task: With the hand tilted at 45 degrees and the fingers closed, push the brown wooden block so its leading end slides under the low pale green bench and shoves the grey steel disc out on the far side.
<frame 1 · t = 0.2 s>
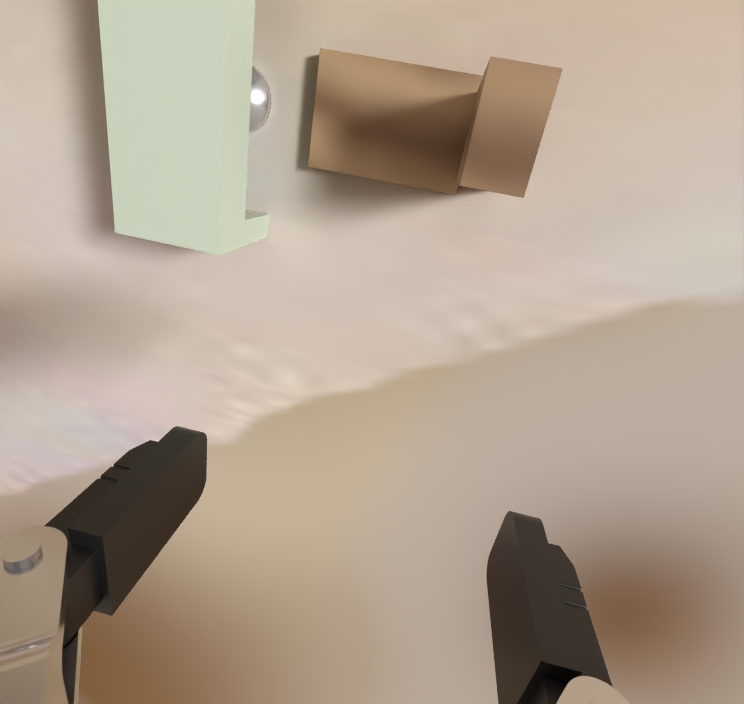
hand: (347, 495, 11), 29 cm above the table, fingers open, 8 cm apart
brown wooden block: (487, 143, 33), on the table
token: (243, 99, 35), on the table
pale green bench: (229, 96, 35), on the table
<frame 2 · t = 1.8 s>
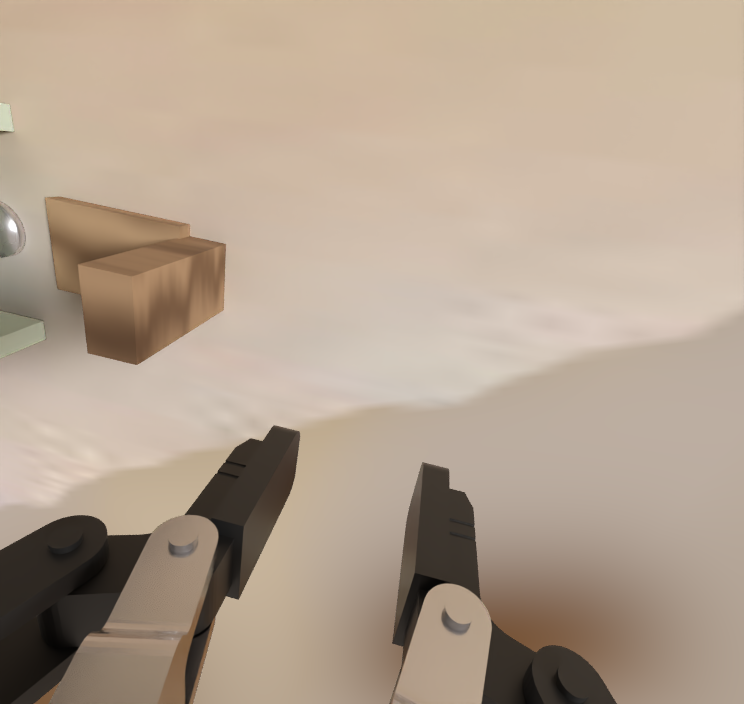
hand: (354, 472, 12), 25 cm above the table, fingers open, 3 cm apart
brown wooden block: (205, 273, 38), on the table
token: (3, 227, 40), on the table
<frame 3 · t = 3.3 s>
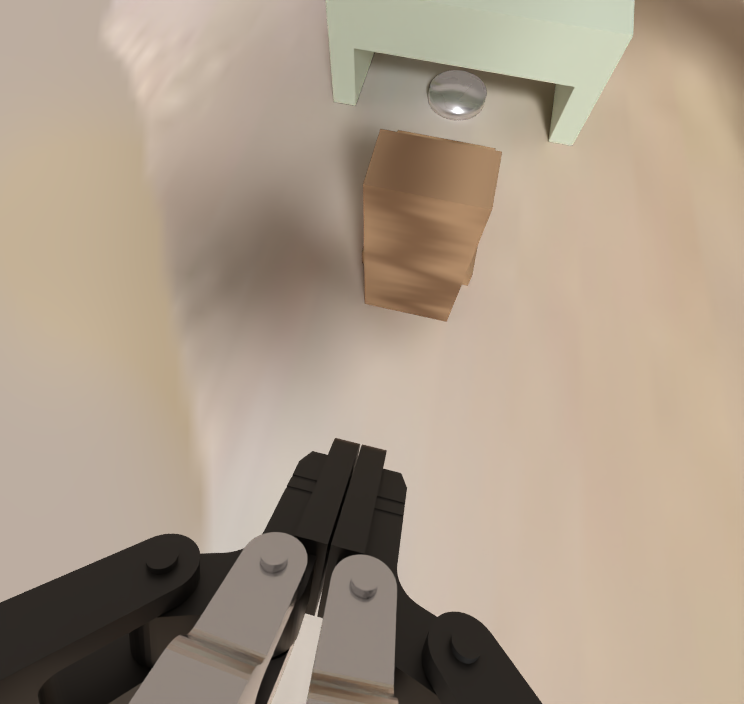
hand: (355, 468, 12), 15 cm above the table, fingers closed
brown wooden block: (410, 291, 31), on the table
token: (455, 102, 39), on the table
pale green bench: (458, 91, 39), on the table
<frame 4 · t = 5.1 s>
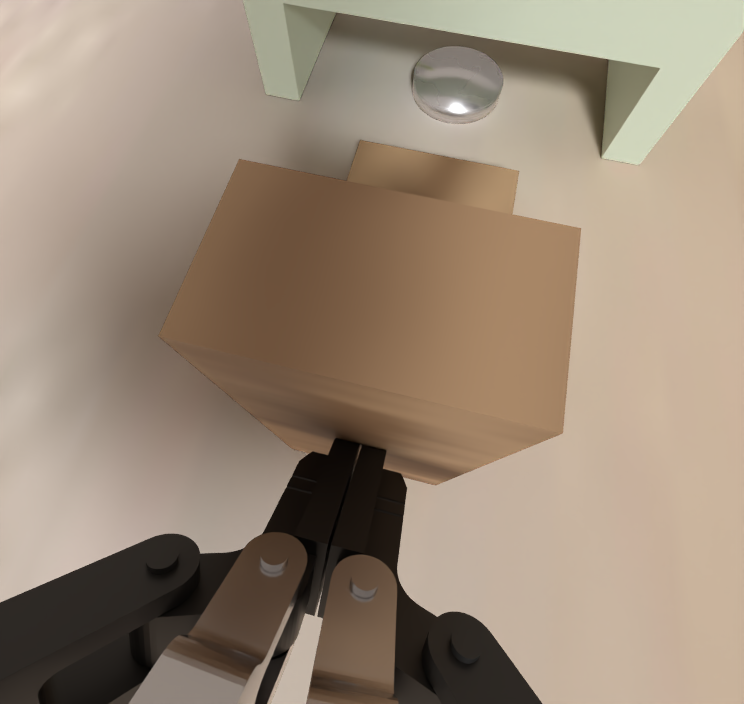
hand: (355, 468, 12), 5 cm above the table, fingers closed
brown wooden block: (373, 425, 18), on the table, touching gripper
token: (454, 96, 25), on the table
pale green bench: (458, 78, 25), on the table
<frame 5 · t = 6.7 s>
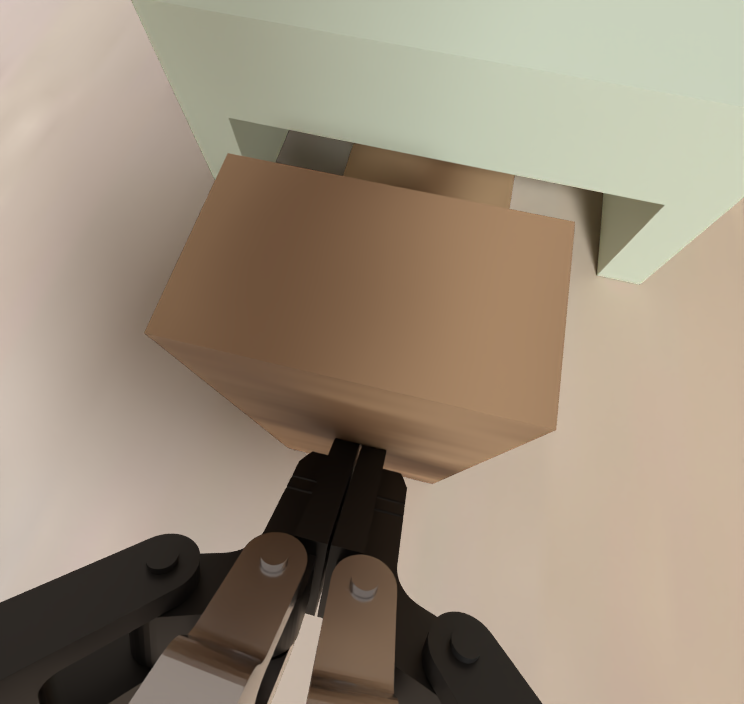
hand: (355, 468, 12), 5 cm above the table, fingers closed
brown wooden block: (369, 423, 18), on the table, touching gripper
pale green bench: (438, 175, 22), on the table
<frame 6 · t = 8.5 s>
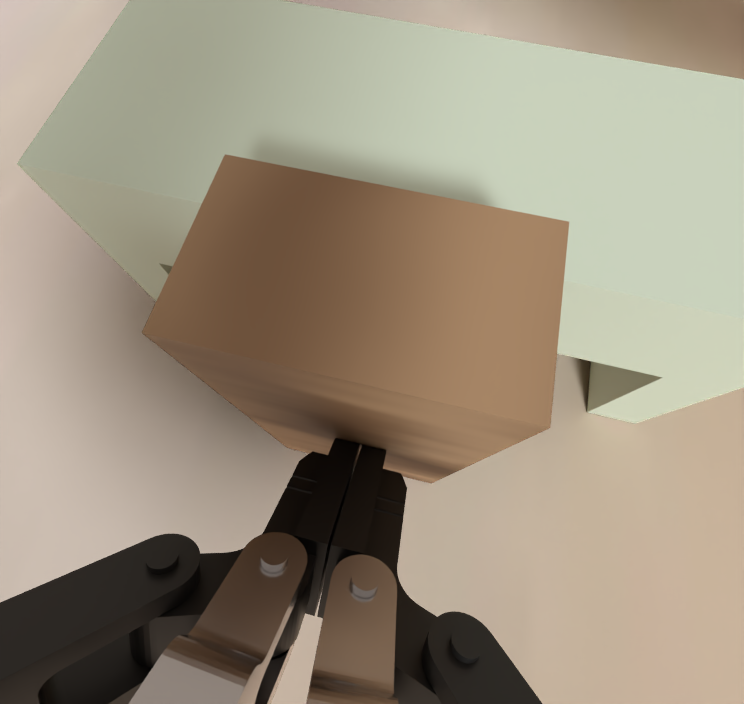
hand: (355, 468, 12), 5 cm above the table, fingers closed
brown wooden block: (368, 423, 18), on the table, touching gripper
pale green bench: (410, 287, 20), on the table
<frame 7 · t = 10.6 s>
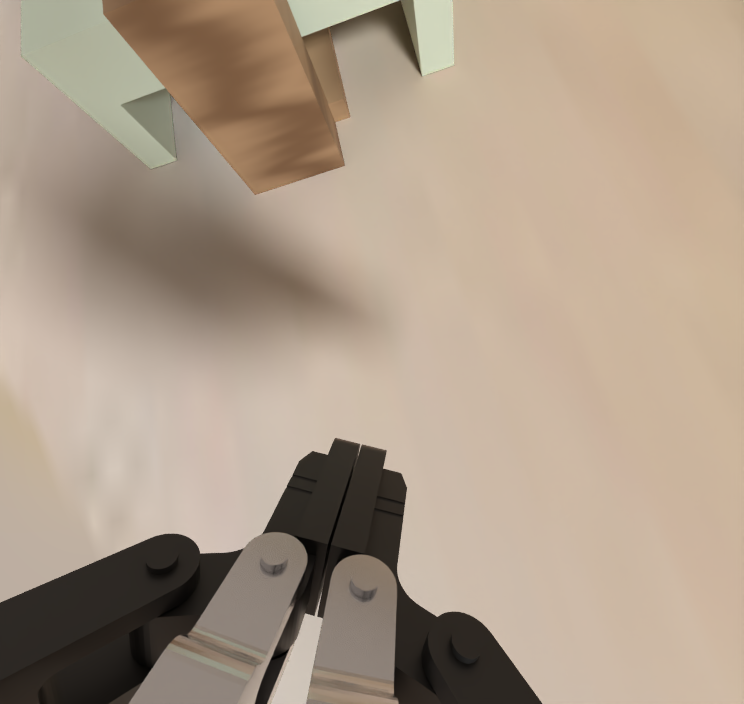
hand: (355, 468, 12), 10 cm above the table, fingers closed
brown wooden block: (294, 156, 27), on the table
pale green bench: (284, 71, 29), on the table
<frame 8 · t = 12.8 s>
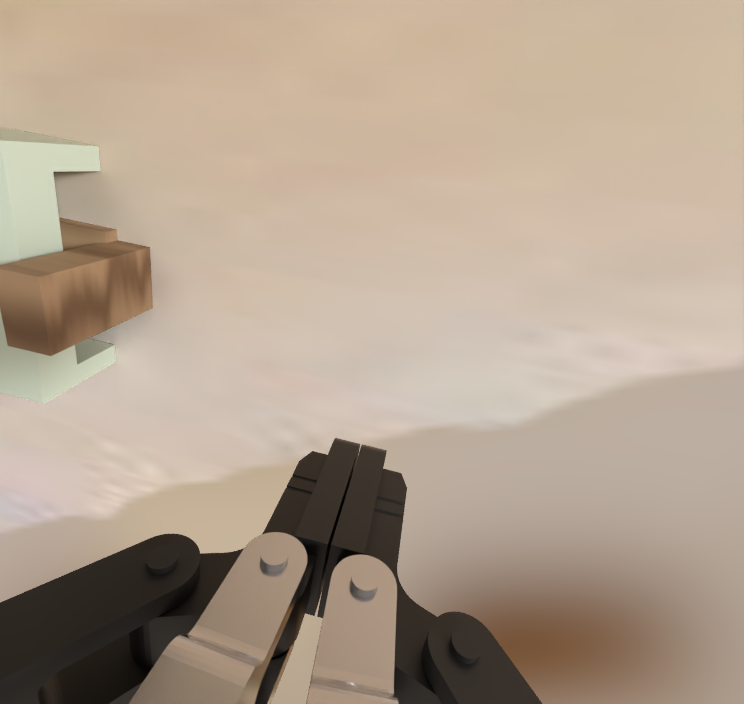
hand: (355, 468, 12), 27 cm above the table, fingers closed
brown wooden block: (134, 274, 41), on the table
pale green bench: (70, 256, 42), on the table
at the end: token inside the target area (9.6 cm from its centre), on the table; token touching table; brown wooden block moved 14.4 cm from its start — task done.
